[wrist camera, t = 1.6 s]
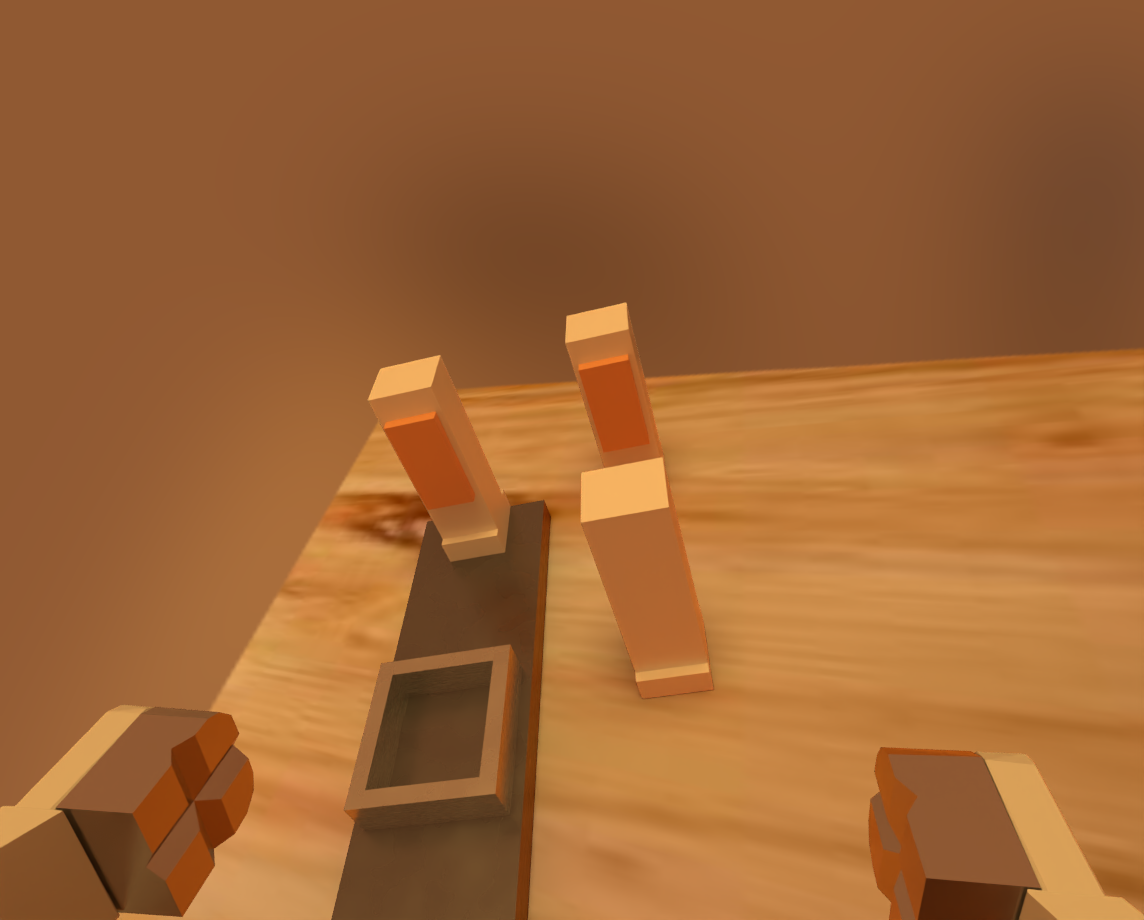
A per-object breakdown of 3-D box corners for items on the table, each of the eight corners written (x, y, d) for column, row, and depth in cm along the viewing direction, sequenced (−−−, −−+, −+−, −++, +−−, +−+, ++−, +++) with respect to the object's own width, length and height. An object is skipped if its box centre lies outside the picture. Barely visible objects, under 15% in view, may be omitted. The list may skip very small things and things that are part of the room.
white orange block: (663, 455, 49) (625, 298, 42) (668, 496, 46) (628, 334, 38) (613, 464, 50) (567, 311, 42) (614, 506, 46) (565, 349, 39)
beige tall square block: (703, 620, 38) (661, 448, 31) (713, 689, 35) (670, 516, 28) (637, 630, 39) (581, 463, 31) (642, 699, 36) (580, 531, 28)
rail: (550, 516, 47) (535, 477, 45) (514, 1147, 24) (478, 1128, 22) (435, 537, 49) (415, 499, 47) (298, 1150, 26) (245, 1134, 24)
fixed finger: (510, 506, 47) (441, 350, 39) (504, 553, 44) (429, 393, 36) (459, 515, 47) (382, 363, 40) (450, 562, 44) (364, 407, 37)
